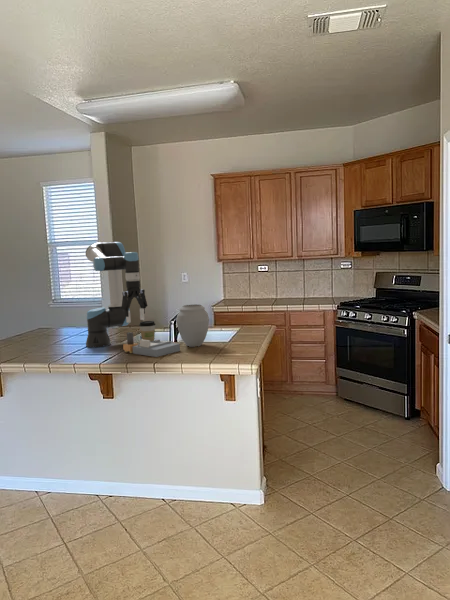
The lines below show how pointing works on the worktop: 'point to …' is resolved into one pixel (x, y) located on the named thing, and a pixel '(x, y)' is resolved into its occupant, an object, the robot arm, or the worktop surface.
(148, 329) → the coffee cup
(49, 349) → the worktop surface
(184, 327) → the vase
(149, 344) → the shutter
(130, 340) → the plug
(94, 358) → the worktop surface
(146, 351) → the socket plate
